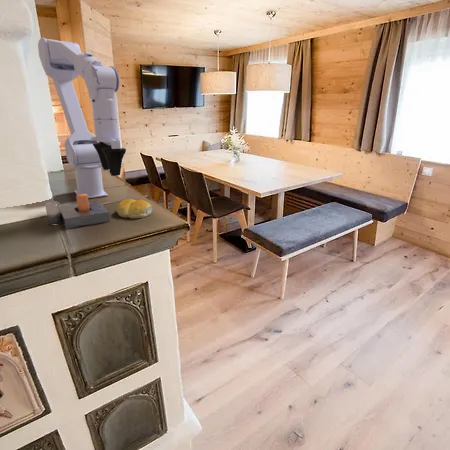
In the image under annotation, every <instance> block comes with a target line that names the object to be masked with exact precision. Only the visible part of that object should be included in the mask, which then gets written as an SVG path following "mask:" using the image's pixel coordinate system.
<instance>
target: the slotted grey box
mask: <svg viewBox="0 0 450 450" xmlns="http://www.w3.org/2000/svg"><path fill="white" fill-rule="evenodd" d="M44 207H45V212H46V216H47V223H48V225H49V224H59V225H61V224H63V226H64V228H65V229H66V230H67V229H74V228H78V227H83V226H84V227H85V226H90V225H96V224H102V223H108V222H111V219H110V211H109V210H108V209H107V208H106V207H105V205H104V204H103V203H102V202H101V200H96V201H89V207H90V210H89V211H82V212H79V210H78V204H77V203H72V204H66V205H65V204H64V205H61V204H60V202H59V201H57V200H55V201H53V200H52V201H51V200H50V201H47V202H45V203H44Z"/></svg>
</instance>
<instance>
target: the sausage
mask: <svg viewBox="0 0 450 450" xmlns="http://www.w3.org/2000/svg"><path fill="white" fill-rule="evenodd" d="M75 198H76V204H78V210H79V212H82V211H89V210H90V207H89V202H90V201H89V198H88V195H87V194H79V195H77V194H76V195H75Z"/></svg>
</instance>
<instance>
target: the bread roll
mask: <svg viewBox="0 0 450 450" xmlns="http://www.w3.org/2000/svg"><path fill="white" fill-rule="evenodd" d="M116 212H117V215H118V216H120V217H122V218H129V219H134V220H135V219H143V218H146V217H148V216H150V215H151V214H152V213H153V206H152V205H151V203H149V202H148V201H146V200H144V199H138V200H136V199H133V198H126V199H124V200H122V201H120V202H119V203H118V204H117V206H116Z"/></svg>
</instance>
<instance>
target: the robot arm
mask: <svg viewBox="0 0 450 450" xmlns="http://www.w3.org/2000/svg"><path fill="white" fill-rule="evenodd" d="M37 49H38V50H37V51H38V56H39V59H40V63H41V66H42V68H43V70H44V72H45V73H44V74H45V75H46V76H48V77H50V78H51V79H52V82H53V84H54V88H55V90H56V93H57V95H58V100H59V102H60V105H61V107H62V111H63V114H64V118H65V120H66V123H67V126H68V129H69V132H70V135H69V136H68V137H67V138H66V139H65V140H64V145H63V146H64V149H65V156H66V157H65V158H66V160H67V162H68V164H69V165H70V166H71V167H73V168H74V171H75V180H76V186H77V187H76V188H77V189H74V193H75V194H76V195H79V194H87V195H88V199H93V198H99V197H108V193H107V192H106V191H105V190H104V184H103V175H102V170H103V171H107V170H108V171H109V174H110V176H111V177H115V176H116V177H117V176H120V175H121V171H122V170H121V169H122V162H123V159H124V156H125V154H126V152H127V149H126V148H124V147H121V136H120V128H119V126H120V125H119V117H118V115H119V114H118V105H117V95H116V93H117V92H118V90H119V88H120V77H119V73H118V70H117V69H116V68H115V67H114V66H111V65H109V66H105V65H104V64H103V63H102V61H100V60H98V59H96V58H95V57H94V56H93V53H92V52H89V51H88V52H87V51H85V52H82V51H81V46H80V44H78V43H77V42H75V41H73V42H71V41H64V40H57V39H51V38H45V37H40V38H39V40H38V43H37ZM79 76H80V77H81V78H82V80H84V83H85V86H86V88H87V89H86V90H87V93H88V98H89V99H90V100H91V104H92V105H91V106H92V113H93V123H94V133H95V134H94V133H92V132H90V131H89V128H88V125H87V122H86V120H85V116H84V113H83V109H82V106H81V104H80V101H79V99H78V95H77V92H76V89H75V85H74V83H73V80H75V79H77V78H78V77H79Z"/></svg>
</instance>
